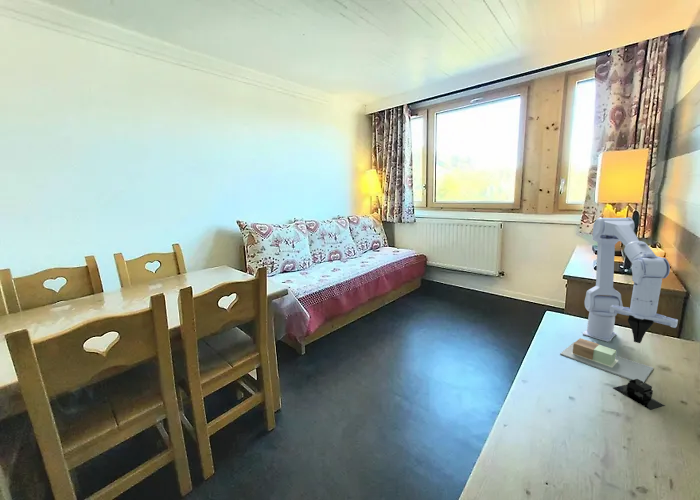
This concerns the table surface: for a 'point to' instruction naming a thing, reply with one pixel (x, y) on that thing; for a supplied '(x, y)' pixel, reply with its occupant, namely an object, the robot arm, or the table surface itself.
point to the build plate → (614, 365)
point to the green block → (604, 355)
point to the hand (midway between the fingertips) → (637, 341)
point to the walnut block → (584, 348)
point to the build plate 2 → (639, 393)
